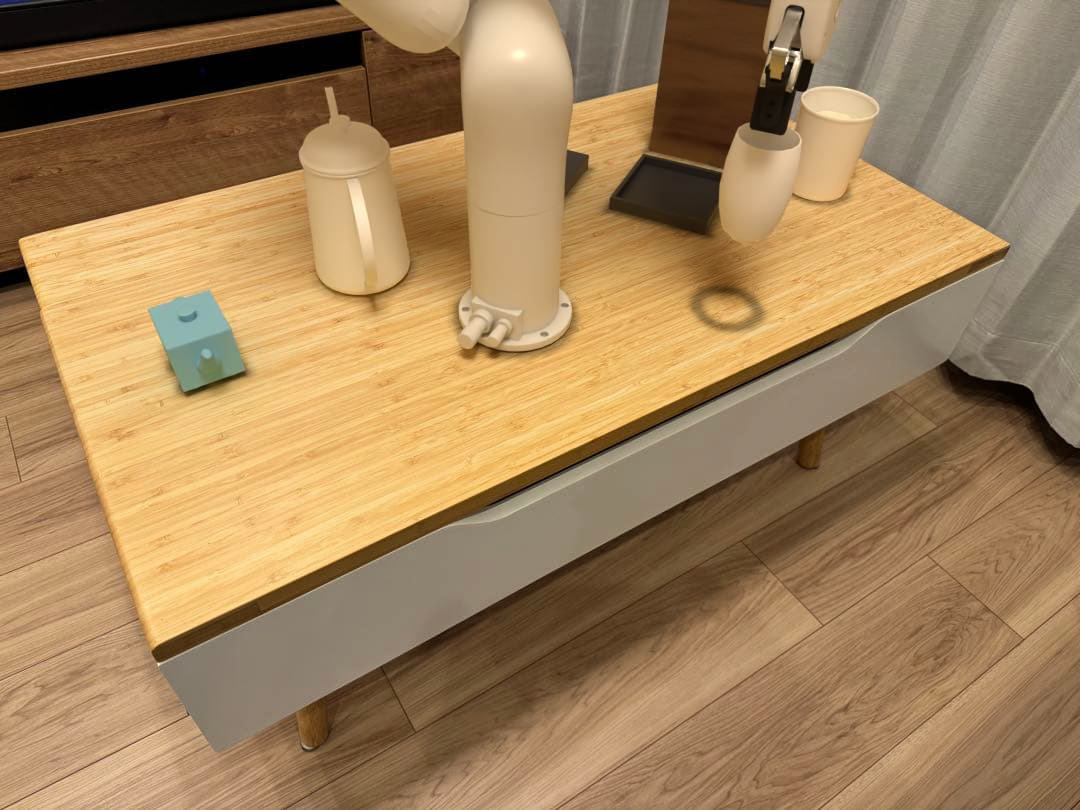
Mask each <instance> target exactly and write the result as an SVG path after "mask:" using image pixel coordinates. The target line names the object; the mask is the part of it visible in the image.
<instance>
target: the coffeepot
mask: <svg viewBox="0 0 1080 810" xmlns="http://www.w3.org/2000/svg"><path fill="white" fill-rule="evenodd" d="M324 92H325V95H326V100H327V105H328V109H329V110H328V111H329V115H330V117H329V119H328V122H327V123H325V124H321V125H319V126H317V127H315V128H314V129H313V130H311V131H310V132H308V133H307V135H306V136H305V138H304V139H303V143H302V146H301V147H300V148H299V150H298V158H299V162H300V164H301V166H302V170H303V180H304V187H305V194H306V203H307V210H308V211H307V212H308V220H309V225H310V234H311V242H312V250H313V258H314V265H315V272H316V274H317V276H318V278H319V279H320V281H321V282H322V283H323V284H324V285H325V286H327V287H328V288H330V289H331V290H333V291H336V292H338V293H342V294H345V295H352V296H364V295H365V296H366V295H372V294H376V293H380V292H383V291H386V290H388V289H390V288H393V287H394V286H396V285H397V284H398V283H400V282H401V281H402V280H403V278H404V277H406V275H407V273H408V271H409V269H410V265H411V257H410V252H409V247H408V242H407V237H406V232H405V226H404V223H403V216H402V213H401V208H400V203H399V198H398V193H397V188H396V184H395V178H394V173H393V167H392V164H391V158H390V157H391V146H390V144H389V142H388V141H387V139H385V138H384V137H383V135H381V132H379V130H377V129H376V128H375V127H373V126H372V125H369V124H367V123H364V122H359V121H353V120H351V117H349V116H348V115H345V114H339V110H338V105H337V101H336V97H335V93H334V89H333V86H328V87H325V86H324Z"/></svg>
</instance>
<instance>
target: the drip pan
mask: <svg viewBox="0 0 1080 810" xmlns="http://www.w3.org/2000/svg"><path fill="white" fill-rule="evenodd" d="M722 173H723V171H718V170H714V169H711V168H706V167H702V166H698V165H693V164H689V163H685V162H680V161H676V160H672V159H667V158H664V157H659V156H655V155H652V154H648V153H642V154H641V155H640V157H639V158H638V160H637V161H636V162H635V164H634V165H633V166H632V167H631V169H630V170H629V172H628V173H627V174H626V175H625V177H624V178H623V179H622V181H621V182H620V183H619V185H618V186H617V187H616V189H615V190H614V191H613V193H612V194H611V195H610V197H609V202H608V210H610V211H613V212H617V213H618V212H619V213H622V214H626V215H630V216H634V217H637V218H641V219H645V220H649V221H653V222H657V223H660V224H663V225H668V226H671V227H676V228H678V229H683V230H687V231H691V232H695V233H698V234H703V235H706V234H707V231H709V229H710V226H711V224H712V222H713V221H714V219H715V217H716V216H717V214H718V213H719V212H718V211H719V188H720V181H721V177H722Z"/></svg>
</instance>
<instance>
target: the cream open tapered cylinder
mask: <svg viewBox="0 0 1080 810" xmlns="http://www.w3.org/2000/svg"><path fill="white" fill-rule="evenodd" d="M799 100H800V101H799V108H798V112H797V116H796V117H797V118H796V121H795V122H796V123H795V126H794V130H795V131H796V132H797V133H799V135H800V137H801V139H802V146H801V155H800V163H799V169H798V173H797V177H796V182H795V186H794V190H793V195H795V196H798V197H799V198H802V199H805V200H808V201H813V202H831V201H832V202H833V201H836V200H838V199H840V198H841V197H843V196H844V194H845V193H846V191H847V188H848V187H849V185H850V181H851V179H852V177H853V174H854V172H855V169H856V167H857V165H858V162H859V160H860V158H861V155H862V153H863V150H864V148H865V145H866V143H867V141H868V138H869V135H870V134H871V131H872V129H873V126H874V124H875V121H876V119H877V117H878V115H879V114H880V105H879V103H878V102H877V101H876V100H875V99H874V97H871V96H870V95H868V94H866V93H864V92H861V91H859V90H855V89H853V88H848V87H844V86H836V85H835V86H834V85H824V86H815V87H812V88H809V89H807V90H806V91H805V92H802V94H801V96H800V99H799Z"/></svg>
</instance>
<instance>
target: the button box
mask: <svg viewBox="0 0 1080 810" xmlns="http://www.w3.org/2000/svg"><path fill="white" fill-rule="evenodd" d="M589 160H590V154H587V153H583V152H578V151H575V150H570V149H567V155H566V169H565V186H564V198H566V196H567V195H568V194H569V192H570V191H571V190H572V189H573V188H574V186H576V184H577V183H578V181H579V180H580V179H581V178H582V177H583V176H584V175H585V173H586V172H587V171H588V170H589V162H590V161H589Z"/></svg>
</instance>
